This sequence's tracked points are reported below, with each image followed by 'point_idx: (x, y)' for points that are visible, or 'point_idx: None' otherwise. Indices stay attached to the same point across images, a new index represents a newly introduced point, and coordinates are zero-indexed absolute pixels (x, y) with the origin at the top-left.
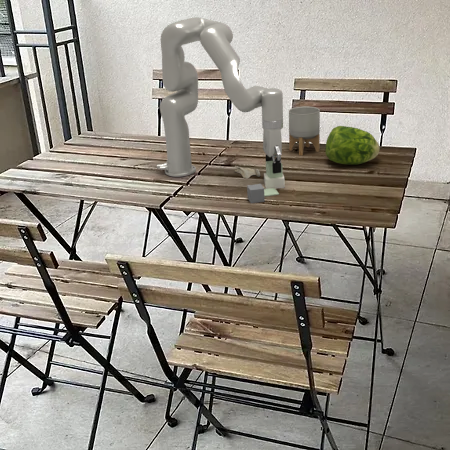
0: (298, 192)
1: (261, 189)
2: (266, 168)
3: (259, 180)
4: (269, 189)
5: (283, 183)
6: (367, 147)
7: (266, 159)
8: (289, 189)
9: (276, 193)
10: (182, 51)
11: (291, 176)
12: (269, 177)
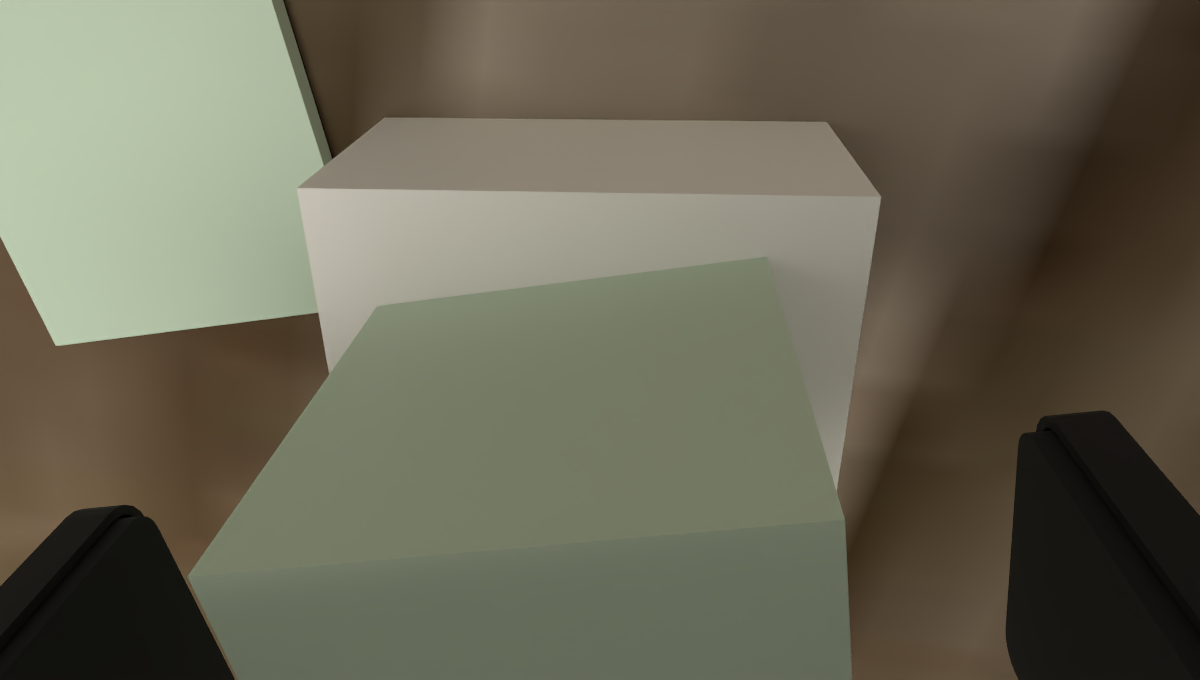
0: (205, 621)
1: None
2: (714, 362)
3: (1004, 15)
4: (273, 194)
5: None
6: None
7: (1133, 592)
8: None
9: (58, 304)
10: None
11: (978, 647)
12: (376, 317)
